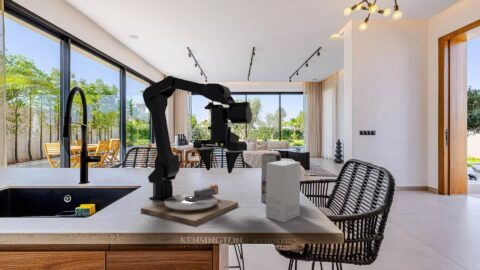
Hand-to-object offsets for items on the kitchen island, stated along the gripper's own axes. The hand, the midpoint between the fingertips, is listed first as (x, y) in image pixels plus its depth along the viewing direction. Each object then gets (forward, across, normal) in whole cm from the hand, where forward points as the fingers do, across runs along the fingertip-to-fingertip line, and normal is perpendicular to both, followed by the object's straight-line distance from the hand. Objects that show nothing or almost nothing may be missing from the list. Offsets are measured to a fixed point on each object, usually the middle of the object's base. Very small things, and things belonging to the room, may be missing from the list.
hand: (218, 171), depth 88 cm
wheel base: (+11, +4, +8) cm, 14 cm away
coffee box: (+11, -10, -17) cm, 23 cm away
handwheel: (+9, +4, +7) cm, 12 cm away
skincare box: (+11, -22, -2) cm, 25 cm away
